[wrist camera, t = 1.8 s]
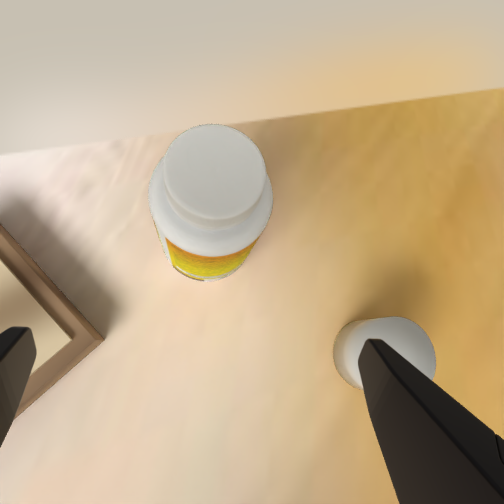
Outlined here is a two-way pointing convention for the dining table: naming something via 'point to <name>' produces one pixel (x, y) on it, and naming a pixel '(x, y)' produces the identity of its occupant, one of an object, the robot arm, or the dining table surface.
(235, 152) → the supplement bottle
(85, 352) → the tan flat square block
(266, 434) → the dining table surface
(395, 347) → the white rounded knob
